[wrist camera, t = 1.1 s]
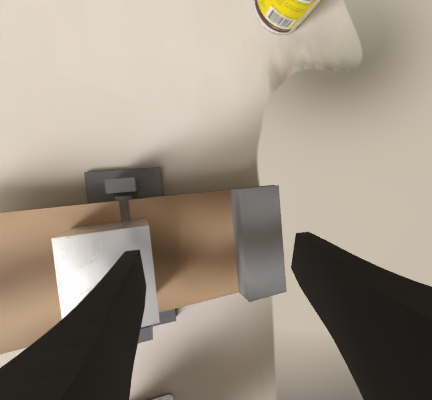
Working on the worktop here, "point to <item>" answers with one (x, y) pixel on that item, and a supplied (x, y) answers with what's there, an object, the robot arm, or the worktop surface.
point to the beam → (161, 252)
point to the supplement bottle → (283, 13)
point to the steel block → (101, 261)
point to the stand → (137, 188)
